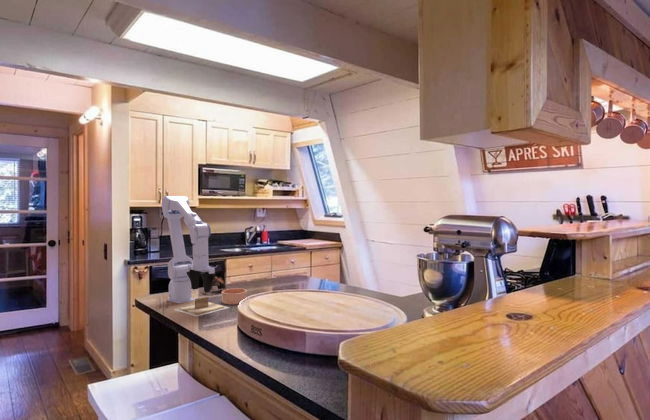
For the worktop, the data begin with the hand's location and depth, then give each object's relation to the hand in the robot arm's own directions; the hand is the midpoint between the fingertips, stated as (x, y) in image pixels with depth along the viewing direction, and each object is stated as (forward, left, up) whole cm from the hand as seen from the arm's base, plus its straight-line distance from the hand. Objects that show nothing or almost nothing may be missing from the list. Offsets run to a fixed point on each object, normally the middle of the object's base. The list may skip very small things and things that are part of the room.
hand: (201, 290), depth 162 cm
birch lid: (0, 0, -7) cm, 7 cm away
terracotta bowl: (+1, +15, -8) cm, 17 cm away
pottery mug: (-19, +21, -8) cm, 30 cm away
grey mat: (0, 0, -8) cm, 8 cm away
